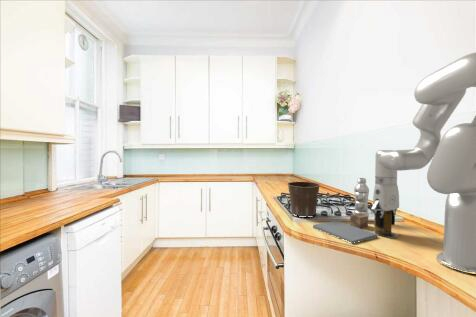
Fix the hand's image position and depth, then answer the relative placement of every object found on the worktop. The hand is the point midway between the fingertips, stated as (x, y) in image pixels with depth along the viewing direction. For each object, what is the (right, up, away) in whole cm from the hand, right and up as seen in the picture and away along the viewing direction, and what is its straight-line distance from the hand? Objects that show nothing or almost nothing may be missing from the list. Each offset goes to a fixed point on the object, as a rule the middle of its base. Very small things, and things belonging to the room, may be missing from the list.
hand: (385, 225), depth 100 cm
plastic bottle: (-1, -3, +18) cm, 18 cm away
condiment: (0, -4, 0) cm, 4 cm away
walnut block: (-6, -3, +10) cm, 12 cm away
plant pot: (-25, -3, +28) cm, 38 cm away
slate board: (-16, -4, +3) cm, 16 cm away
